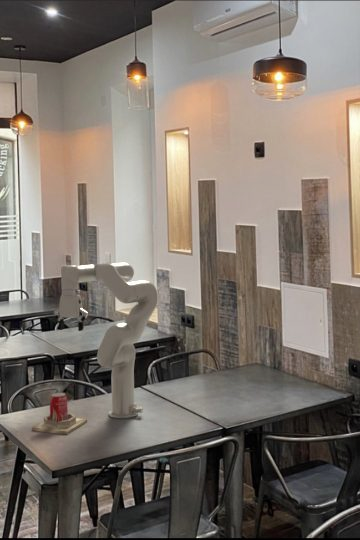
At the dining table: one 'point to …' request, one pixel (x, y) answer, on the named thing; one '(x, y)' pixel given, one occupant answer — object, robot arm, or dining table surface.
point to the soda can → (58, 407)
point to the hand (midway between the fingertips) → (71, 329)
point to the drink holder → (60, 425)
